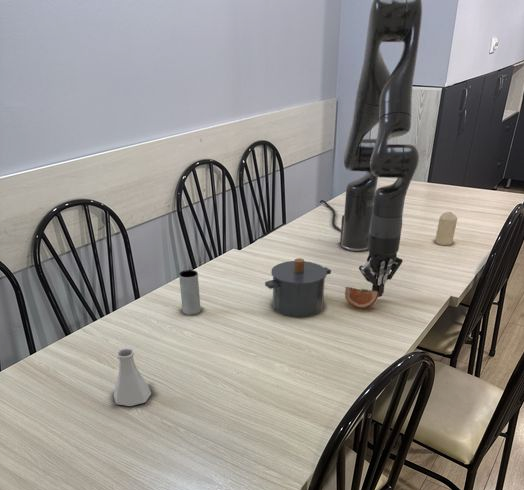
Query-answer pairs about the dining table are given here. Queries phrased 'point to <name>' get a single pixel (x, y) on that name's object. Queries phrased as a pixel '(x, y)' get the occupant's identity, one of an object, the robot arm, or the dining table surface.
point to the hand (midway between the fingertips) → (377, 295)
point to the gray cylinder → (190, 292)
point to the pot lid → (299, 272)
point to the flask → (129, 381)
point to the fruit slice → (361, 297)
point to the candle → (446, 229)
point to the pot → (297, 297)
